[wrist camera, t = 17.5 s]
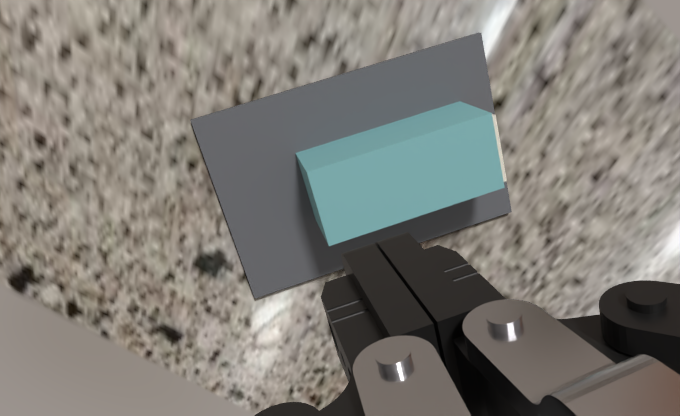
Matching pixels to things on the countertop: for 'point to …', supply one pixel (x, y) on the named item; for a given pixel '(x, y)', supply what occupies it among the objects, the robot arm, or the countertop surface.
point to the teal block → (402, 170)
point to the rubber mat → (320, 128)
